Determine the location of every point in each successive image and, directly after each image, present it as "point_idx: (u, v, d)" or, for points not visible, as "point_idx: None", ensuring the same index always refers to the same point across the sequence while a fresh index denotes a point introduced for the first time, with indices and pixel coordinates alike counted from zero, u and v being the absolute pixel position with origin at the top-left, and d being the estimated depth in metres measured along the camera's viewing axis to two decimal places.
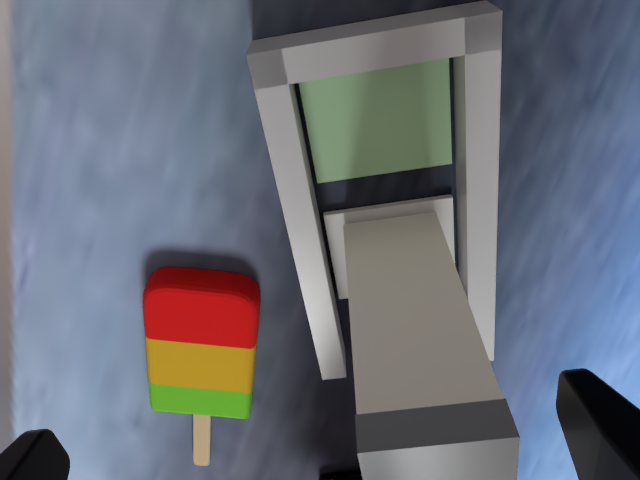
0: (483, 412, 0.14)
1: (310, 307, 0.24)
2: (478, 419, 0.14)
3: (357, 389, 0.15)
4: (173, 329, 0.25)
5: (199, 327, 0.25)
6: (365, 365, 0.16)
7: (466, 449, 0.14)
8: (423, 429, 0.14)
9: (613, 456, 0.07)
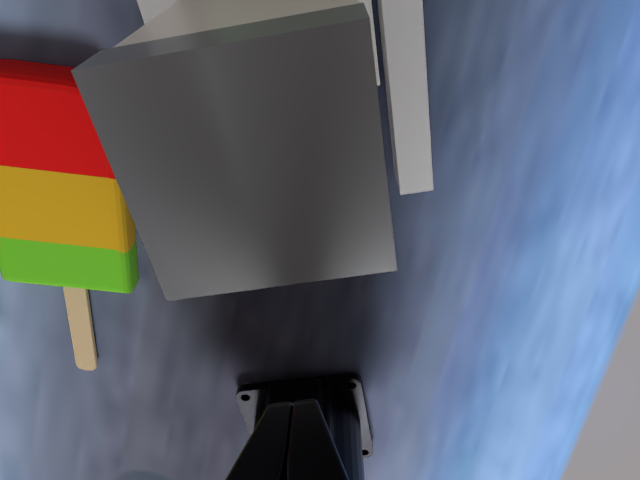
0: (317, 15, 0.08)
1: None
2: (305, 19, 0.07)
3: (128, 38, 0.09)
4: (6, 145, 0.19)
5: (39, 142, 0.19)
6: (159, 24, 0.10)
7: (274, 58, 0.07)
8: (203, 40, 0.07)
9: None
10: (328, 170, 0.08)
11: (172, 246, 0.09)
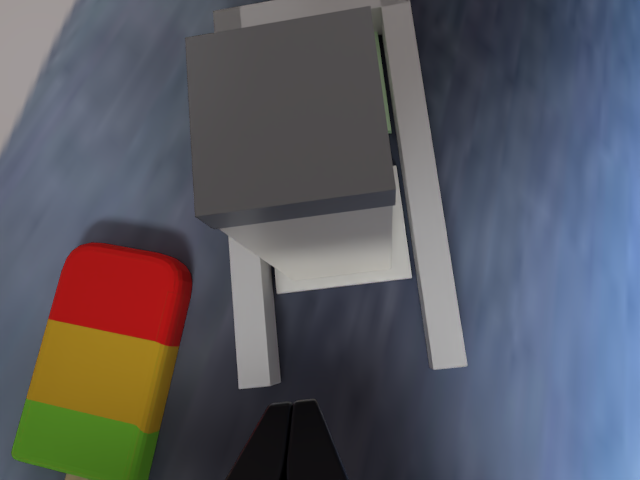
0: None
1: (235, 263, 0.21)
2: None
3: None
4: (82, 305, 0.22)
5: (110, 303, 0.22)
6: None
7: (310, 28, 0.11)
8: None
9: None
10: (340, 100, 0.11)
11: (213, 162, 0.11)
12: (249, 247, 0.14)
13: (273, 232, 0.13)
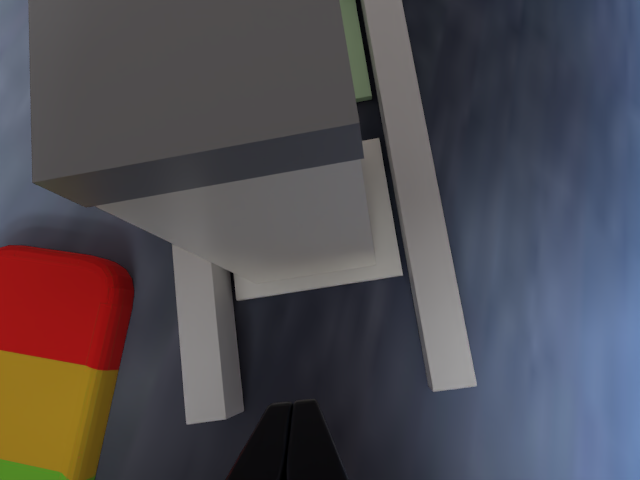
0: None
1: (180, 264, 0.16)
2: None
3: None
4: None
5: (29, 320, 0.17)
6: None
7: None
8: None
9: None
10: None
11: (64, 94, 0.07)
12: (167, 238, 0.10)
13: (190, 212, 0.09)
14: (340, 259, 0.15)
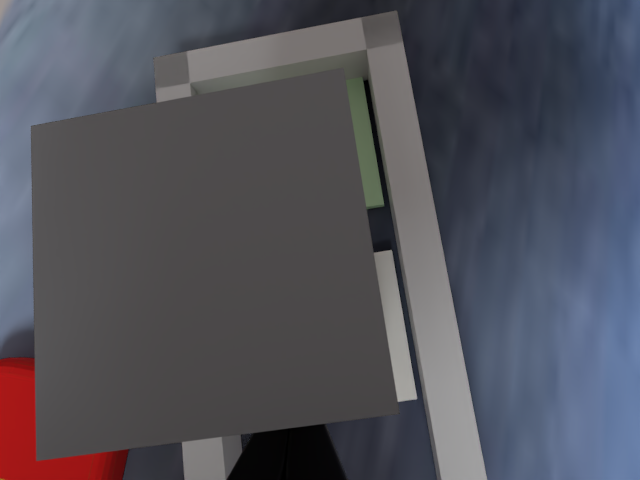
0: None
1: None
2: None
3: None
4: None
5: (25, 444, 0.17)
6: None
7: (242, 108, 0.07)
8: None
9: None
10: (295, 239, 0.06)
11: (72, 356, 0.06)
12: None
13: None
14: None
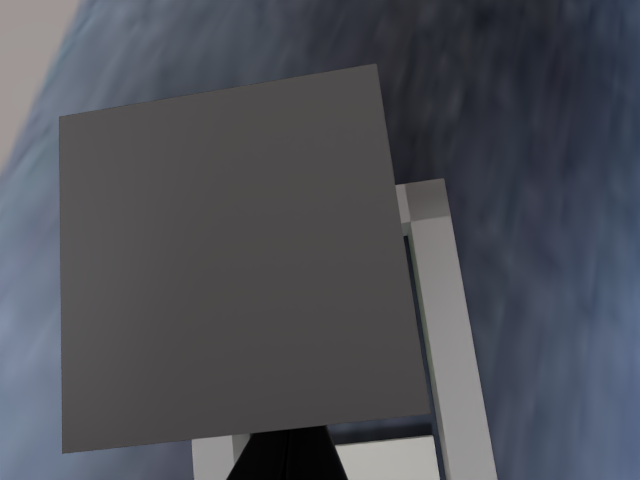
0: None
1: None
2: None
3: None
4: None
5: None
6: None
7: (273, 102, 0.07)
8: None
9: None
10: (326, 235, 0.06)
11: (99, 349, 0.06)
12: None
13: None
14: None
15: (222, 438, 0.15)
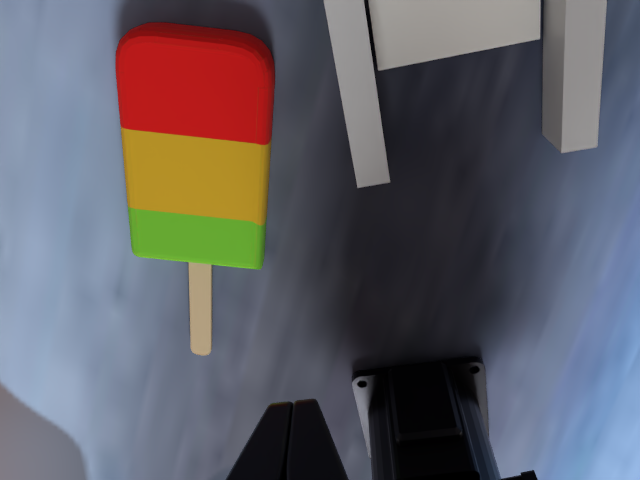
0: None
1: (340, 54, 0.17)
2: None
3: None
4: (157, 110, 0.19)
5: (191, 106, 0.19)
6: None
7: None
8: None
9: None
10: None
11: None
12: None
13: None
14: None
15: None
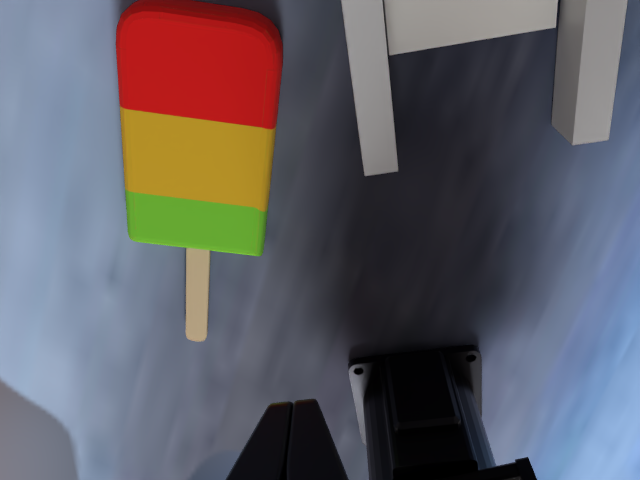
0: None
1: (353, 37, 0.16)
2: None
3: None
4: (160, 90, 0.18)
5: (196, 87, 0.18)
6: None
7: None
8: None
9: None
10: None
11: None
12: None
13: None
14: None
15: None
